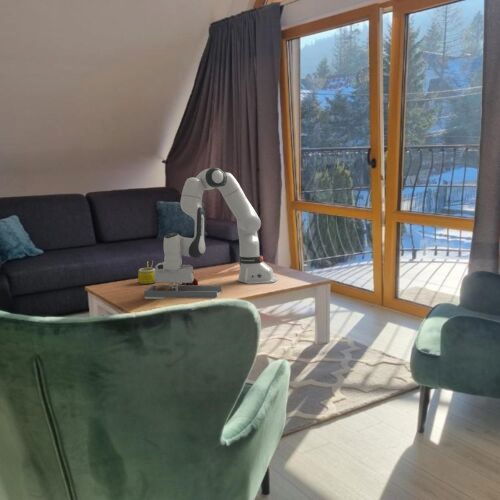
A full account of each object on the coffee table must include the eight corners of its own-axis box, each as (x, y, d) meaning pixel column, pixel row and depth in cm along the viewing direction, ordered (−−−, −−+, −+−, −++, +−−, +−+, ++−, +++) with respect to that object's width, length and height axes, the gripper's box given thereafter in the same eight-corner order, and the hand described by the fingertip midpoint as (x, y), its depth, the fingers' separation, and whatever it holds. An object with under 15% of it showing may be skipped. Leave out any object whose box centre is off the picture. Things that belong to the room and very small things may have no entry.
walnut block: (173, 292, 301) (172, 285, 300) (170, 295, 295) (169, 288, 294) (158, 292, 302) (158, 285, 301) (155, 295, 296) (154, 287, 296)
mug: (148, 285, 322) (147, 264, 320) (134, 283, 328) (132, 263, 325) (163, 280, 332) (162, 260, 330) (149, 279, 338) (148, 259, 336)
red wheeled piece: (192, 282, 325) (191, 264, 323) (199, 287, 314) (198, 269, 312) (180, 284, 322) (179, 266, 321) (187, 289, 311) (186, 270, 309)
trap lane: (221, 293, 301) (221, 285, 300) (216, 299, 289) (216, 291, 288) (152, 292, 306) (151, 285, 306) (144, 298, 294) (144, 291, 294)
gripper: (194, 263, 296) (195, 289, 299) (156, 263, 299) (157, 289, 302) (191, 266, 290) (192, 292, 293) (152, 266, 293) (154, 292, 296)
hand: (174, 290), depth 297 cm, fingers closed
